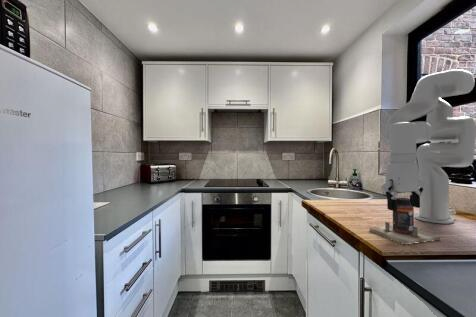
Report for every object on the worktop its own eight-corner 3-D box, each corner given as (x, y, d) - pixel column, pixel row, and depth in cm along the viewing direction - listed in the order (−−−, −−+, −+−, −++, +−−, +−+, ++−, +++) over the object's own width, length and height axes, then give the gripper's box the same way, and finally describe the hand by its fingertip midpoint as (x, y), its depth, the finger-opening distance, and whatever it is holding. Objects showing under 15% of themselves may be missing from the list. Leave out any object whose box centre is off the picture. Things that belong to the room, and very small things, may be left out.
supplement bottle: (417, 234, 79) (417, 200, 79) (397, 233, 80) (397, 200, 80) (408, 229, 85) (408, 197, 84) (389, 228, 86) (389, 196, 86)
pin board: (400, 227, 91) (400, 216, 91) (439, 240, 77) (439, 227, 77) (369, 230, 87) (369, 219, 87) (404, 245, 74) (404, 231, 74)
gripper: (412, 156, 87) (413, 203, 88) (372, 160, 83) (374, 208, 84) (434, 157, 80) (434, 208, 81) (391, 161, 76) (392, 214, 77)
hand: (403, 208), depth 83 cm, fingers open, 9 cm apart
